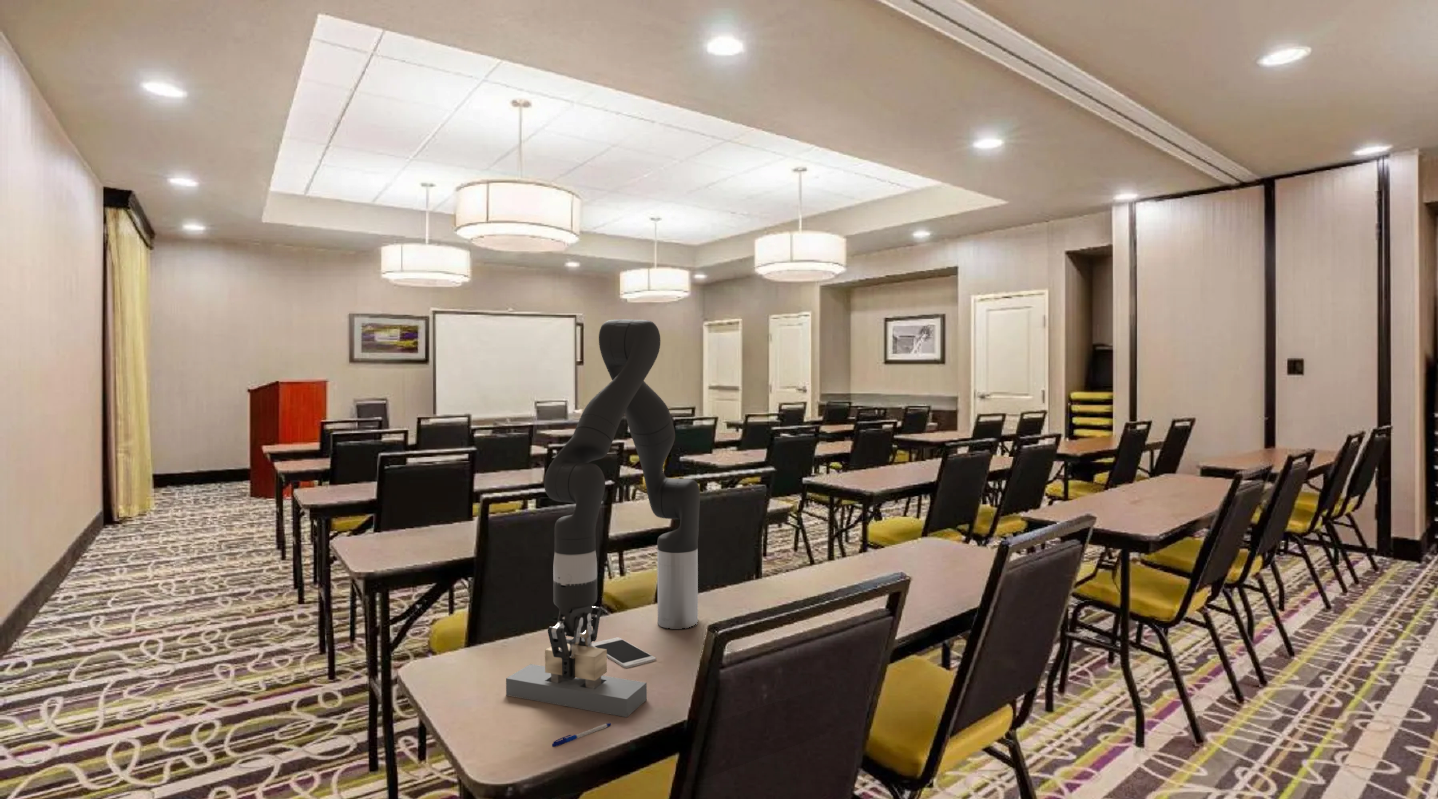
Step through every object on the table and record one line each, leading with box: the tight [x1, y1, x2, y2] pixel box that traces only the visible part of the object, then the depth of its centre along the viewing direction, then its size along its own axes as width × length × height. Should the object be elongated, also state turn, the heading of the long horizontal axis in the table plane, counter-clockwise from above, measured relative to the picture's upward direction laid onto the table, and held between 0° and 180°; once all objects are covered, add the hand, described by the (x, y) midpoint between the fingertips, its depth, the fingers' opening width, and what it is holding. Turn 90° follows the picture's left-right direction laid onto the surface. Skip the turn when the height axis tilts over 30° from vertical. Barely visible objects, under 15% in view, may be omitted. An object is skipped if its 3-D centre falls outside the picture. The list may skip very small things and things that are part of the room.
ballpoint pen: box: [551, 722, 612, 748], centre depth 114 cm, size 10×1×1 cm, turn 134°
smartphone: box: [591, 636, 657, 669], centre depth 150 cm, size 7×15×1 cm, turn 37°
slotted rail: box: [505, 663, 648, 718], centre depth 128 cm, size 24×7×3 cm, turn 69°
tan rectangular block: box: [544, 644, 608, 689], centre depth 128 cm, size 10×4×7 cm, turn 69°
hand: (575, 673), depth 128 cm, fingers closed on tan rectangular block, 4 cm apart
